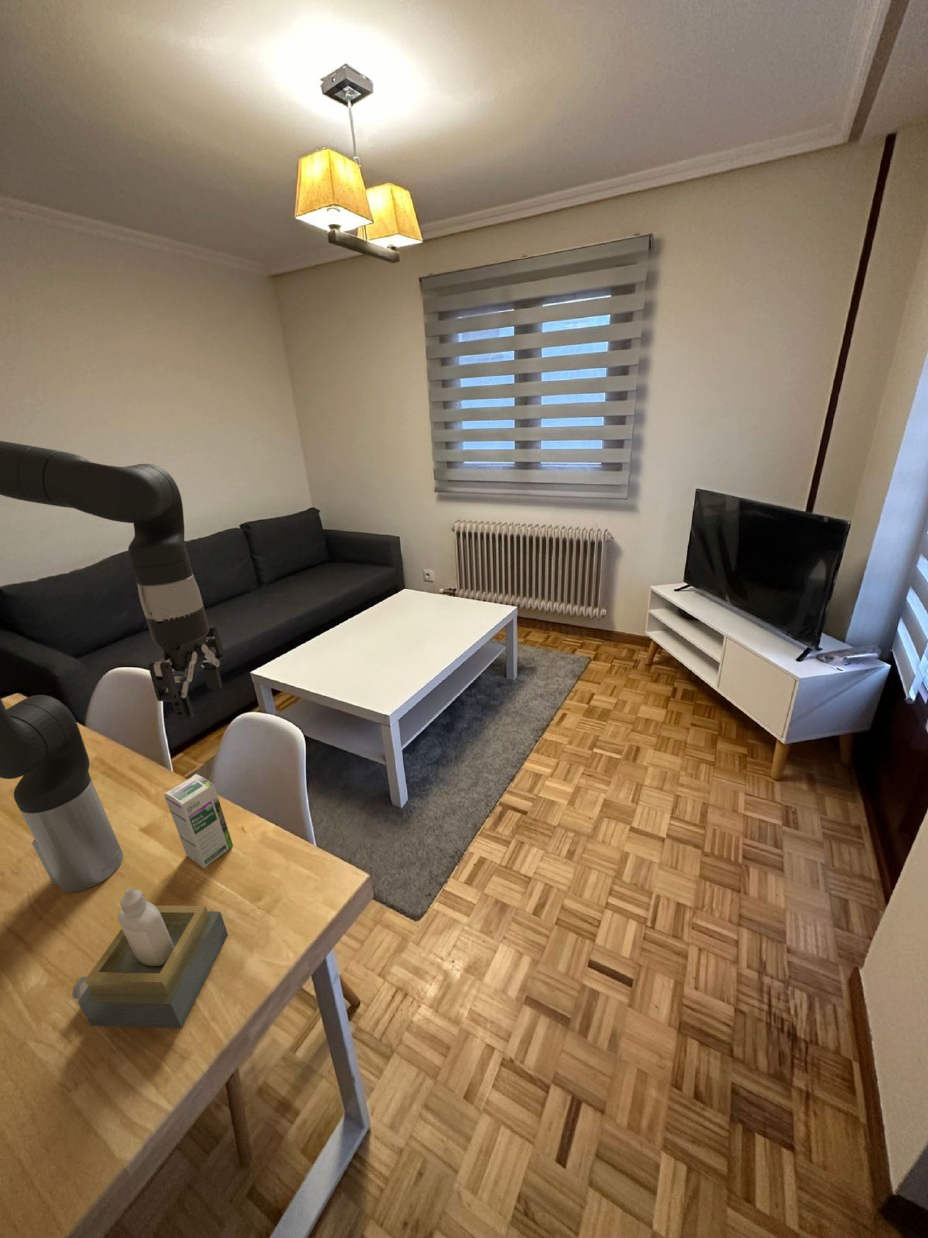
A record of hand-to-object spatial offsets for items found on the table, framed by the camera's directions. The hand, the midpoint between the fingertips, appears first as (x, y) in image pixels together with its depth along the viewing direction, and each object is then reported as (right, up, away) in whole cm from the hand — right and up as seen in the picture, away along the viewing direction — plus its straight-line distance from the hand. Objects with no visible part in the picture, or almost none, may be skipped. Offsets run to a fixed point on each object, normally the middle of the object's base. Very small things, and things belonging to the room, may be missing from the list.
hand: (201, 702), depth 76 cm
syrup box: (-4, -29, +10) cm, 31 cm away
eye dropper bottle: (0, -32, -11) cm, 34 cm away
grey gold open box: (-1, -37, -10) cm, 38 cm away
